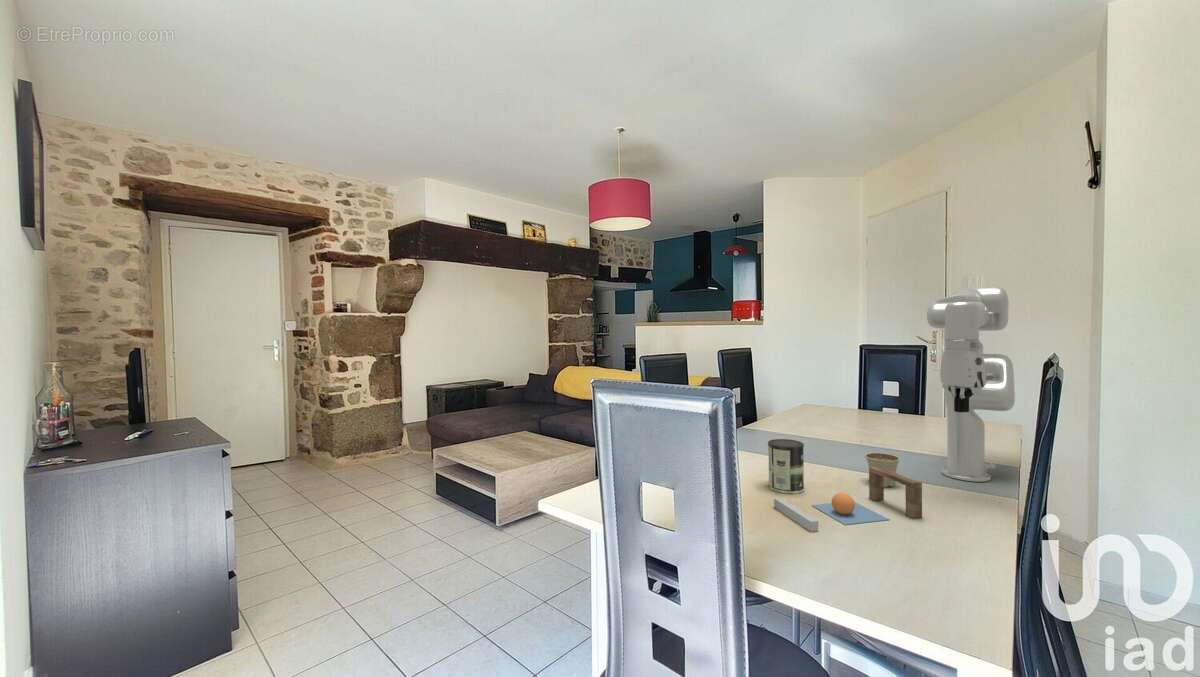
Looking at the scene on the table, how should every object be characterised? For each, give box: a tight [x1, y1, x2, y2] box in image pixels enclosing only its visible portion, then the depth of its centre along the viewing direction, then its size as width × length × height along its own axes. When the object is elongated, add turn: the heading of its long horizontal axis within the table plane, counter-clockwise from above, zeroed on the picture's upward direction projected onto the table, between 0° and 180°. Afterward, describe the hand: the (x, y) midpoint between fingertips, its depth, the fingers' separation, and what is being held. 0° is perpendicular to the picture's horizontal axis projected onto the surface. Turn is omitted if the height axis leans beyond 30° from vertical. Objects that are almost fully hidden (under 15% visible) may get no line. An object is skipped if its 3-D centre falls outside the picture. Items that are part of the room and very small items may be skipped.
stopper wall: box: [773, 497, 819, 533], centre depth 121 cm, size 2×16×2 cm, turn 11°
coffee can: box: [767, 438, 805, 495], centre depth 144 cm, size 10×10×14 cm
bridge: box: [868, 466, 923, 520], centre depth 127 cm, size 3×14×9 cm, turn 11°
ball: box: [831, 492, 856, 515], centre depth 123 cm, size 6×6×6 cm
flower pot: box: [864, 452, 901, 488], centre depth 146 cm, size 9×9×9 cm
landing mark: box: [811, 501, 890, 526], centre depth 124 cm, size 13×13×1 cm
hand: (961, 411), depth 131 cm, fingers closed
